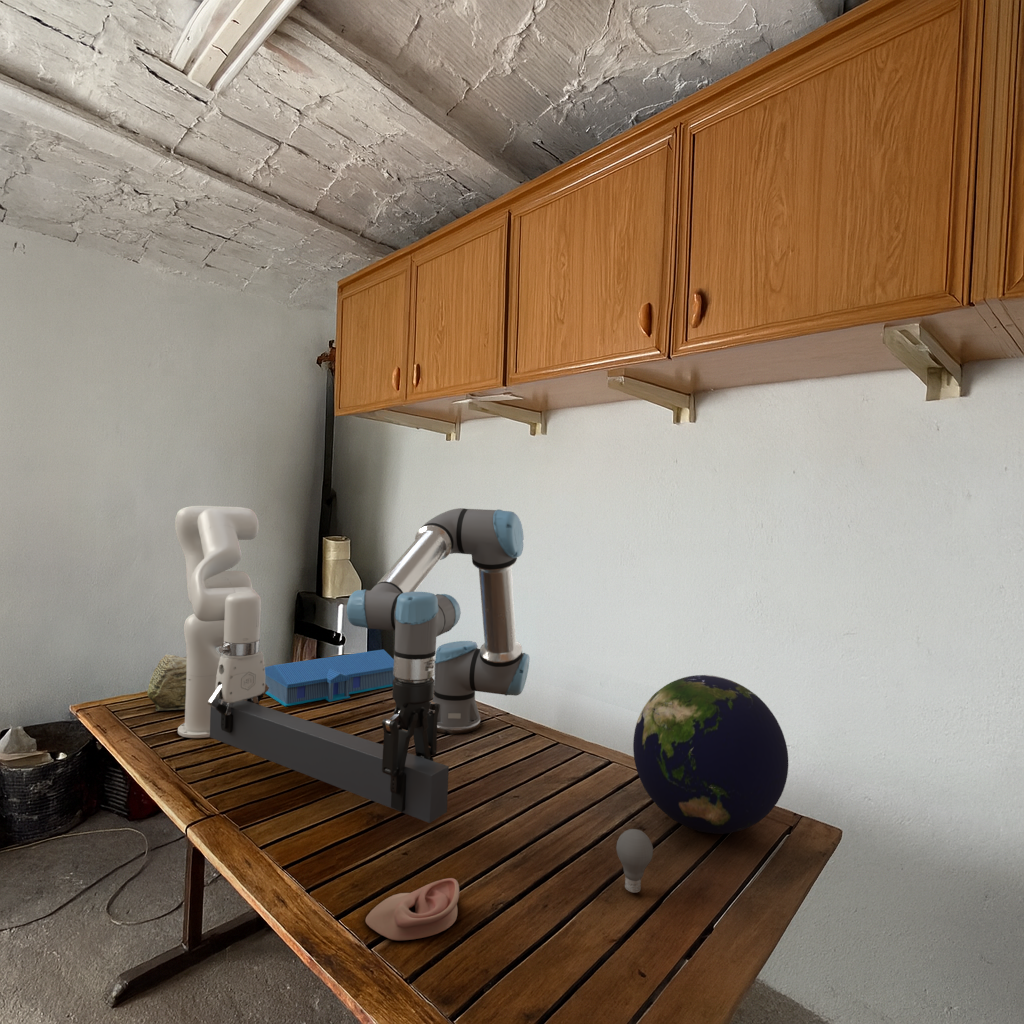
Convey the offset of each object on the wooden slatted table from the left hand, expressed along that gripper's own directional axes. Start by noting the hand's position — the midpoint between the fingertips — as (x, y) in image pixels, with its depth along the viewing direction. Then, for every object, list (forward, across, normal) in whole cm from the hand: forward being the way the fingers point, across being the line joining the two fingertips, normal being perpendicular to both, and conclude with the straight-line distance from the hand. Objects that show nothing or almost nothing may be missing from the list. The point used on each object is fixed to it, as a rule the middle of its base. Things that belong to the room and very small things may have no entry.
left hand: (238, 726), depth 144 cm
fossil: (+11, +18, +50) cm, 54 cm away
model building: (+11, +56, +30) cm, 65 cm away
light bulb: (+9, +11, -91) cm, 92 cm away
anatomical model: (+9, -15, -65) cm, 68 cm away
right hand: (+2, 0, -51) cm, 51 cm away
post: (+3, 0, -26) cm, 26 cm away
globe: (+9, +41, -95) cm, 103 cm away
